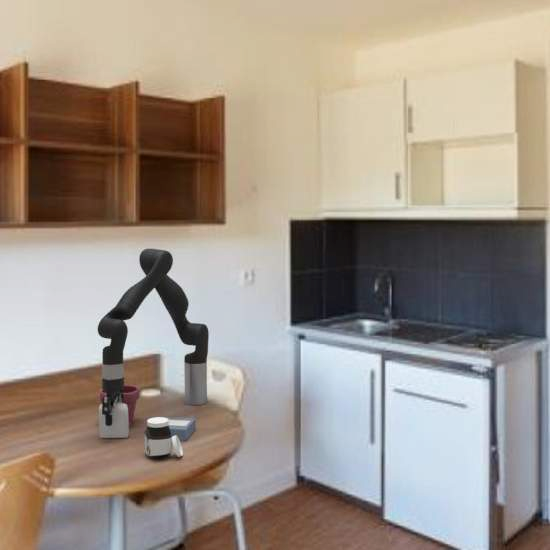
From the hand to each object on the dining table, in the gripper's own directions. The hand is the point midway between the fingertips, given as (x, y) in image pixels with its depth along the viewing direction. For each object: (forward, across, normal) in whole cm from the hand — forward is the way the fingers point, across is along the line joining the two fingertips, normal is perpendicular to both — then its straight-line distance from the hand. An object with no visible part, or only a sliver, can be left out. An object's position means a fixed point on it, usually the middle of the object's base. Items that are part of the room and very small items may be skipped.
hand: (113, 421), depth 231 cm
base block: (+5, -6, +19) cm, 21 cm away
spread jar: (+6, +15, +23) cm, 28 cm away
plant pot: (+6, -16, -4) cm, 18 cm away
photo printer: (+6, 0, 0) cm, 6 cm away
